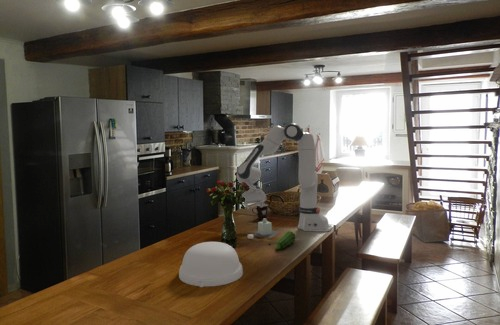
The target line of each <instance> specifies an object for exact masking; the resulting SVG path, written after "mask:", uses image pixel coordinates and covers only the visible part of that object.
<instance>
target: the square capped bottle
mask: <svg viewBox="0 0 500 325" xmlns="http://www.w3.org/2000/svg"><path fill="white" fill-rule="evenodd" d="M267 219H268V218H267ZM267 219H266V218H263V220H261V221H258V222H257V231H258V233H259V234H261V235H269V234H272V231H273V229H272V228H273V227H272V226H273V224H272V223H273V222H270V221H268V220H267Z"/></svg>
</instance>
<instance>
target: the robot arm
mask: <svg viewBox="0 0 500 325" xmlns="http://www.w3.org/2000/svg"><path fill="white" fill-rule="evenodd" d="M285 139H288V140H291V141H296V143H297V151H298V152H297V153H298V183H299V185H300V194H299V210H298V212H299V220H298V225H297V228H298V229H299V230H302V231H304V232H320V233H321V232H326V233H327V232H329V231H331V230H332V229H333V228H332V227H333V226H332V225H330V224H329V220H328V218H327V217H326V216H325V215H323V214H322V213H321V210H320V209H321V208H320V207H318V199H317V198H318V184H319V182H318V180H319V179H318V178H319V176H318V172H317V171H316V160H317V159H316V143H315V139H314V135H313V134H312V133H311V132H306V131H305V132H304V131H303V130H302V128H301V126H300V125H299V124H298V123H297V122H290V123H288V124H287V125H286V126H284V127H283V126H280V125H274V126H272V128H271V129H270V130H269V132H267V135H266V136H265V138H264V139H263V140H262V141H261V142H260V143H259V144H257V145H256V146H255V147H254V148H253V149H252V151H251V152H250V153H249V155H248V156H247V157H246V158H245V160H244V161H243V162H242V163H241V164H240V165H239V166H238V167H237V173H238V174H237V173H236V179H237V180H238V181H237V183H238V182H239V183H242V182H245V183H246V184H247V185H248V186H249V188H250V189H249V190H248V191H246V192H244V193H243V194H242V197H244V198H245V202H244V203H243V204H242V205H244V207H246V208H247V210H250V209H251V205H249V204H256V203H258V204H260V207H263V204H264V202H266V200H267V195H266V194H265V192H264V191H263V190H262V188H263V187H261V186H257V185H254V184H256V183H257V182H258V181H260V180H261V178H262V170H261V169H260V168H258V167H255V166H254V164H255V162H257V160H258V159H259V158H260V157H262V156H265V155H271V154H274V153H276V152H277V150H278V149H279V148H280V146H281V145H282V143H283V141H284V140H285ZM239 183H238V184H239Z"/></svg>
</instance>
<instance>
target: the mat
mask: <svg viewBox="0 0 500 325" xmlns="http://www.w3.org/2000/svg"><path fill="white" fill-rule="evenodd" d="M279 232H280V231H279V230H272V234H269V235H261V234H259V233H258V230H256V231H254V233H252V234H253V237H257V238H266V239H267V238H269V239H272V238H273V237H274V236H275V235H277V234H278V233H279Z"/></svg>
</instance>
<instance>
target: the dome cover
mask: <svg viewBox="0 0 500 325" xmlns="http://www.w3.org/2000/svg"><path fill="white" fill-rule="evenodd" d="M243 270H244V269H243V265H242V263H241V262H240V260H239V256H238V252H237V251H236V249H235V248H233V246H231V245H229V244H228V243H226V242H220V241H205V242H204V241H203V242H200V243H197V244H194V245H192V246H191V247H189V248H188V249H187V250H186V252H185V253H184V256H183V258H182V263H181V265H180V268H179V270H178V277H179V279H180V281H181V282H183V283H186V284H187V285H191V286H196V287H199V288H204V287H216V286H222V285H228V284H230V283H233V282H236V281H238V280H239V279H240V278H241V277H242V276H243V275H244V271H243Z"/></svg>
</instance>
